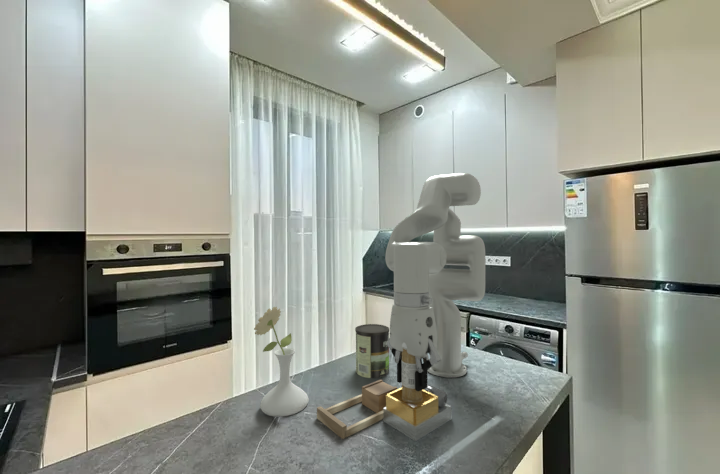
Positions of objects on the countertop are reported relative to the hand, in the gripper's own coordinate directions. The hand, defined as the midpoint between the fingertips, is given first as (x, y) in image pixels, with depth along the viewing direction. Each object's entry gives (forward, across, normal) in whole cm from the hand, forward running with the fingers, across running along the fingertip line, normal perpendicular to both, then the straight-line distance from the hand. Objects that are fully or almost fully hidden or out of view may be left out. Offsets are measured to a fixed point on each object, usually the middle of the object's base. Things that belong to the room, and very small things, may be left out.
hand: (411, 383), depth 67 cm
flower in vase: (+10, +25, +18) cm, 32 cm away
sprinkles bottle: (+4, 0, 0) cm, 4 cm away
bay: (+10, +10, +5) cm, 15 cm away
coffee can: (+10, +26, -12) cm, 30 cm away
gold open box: (+10, 0, -2) cm, 10 cm away
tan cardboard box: (+8, +10, 0) cm, 13 cm away
